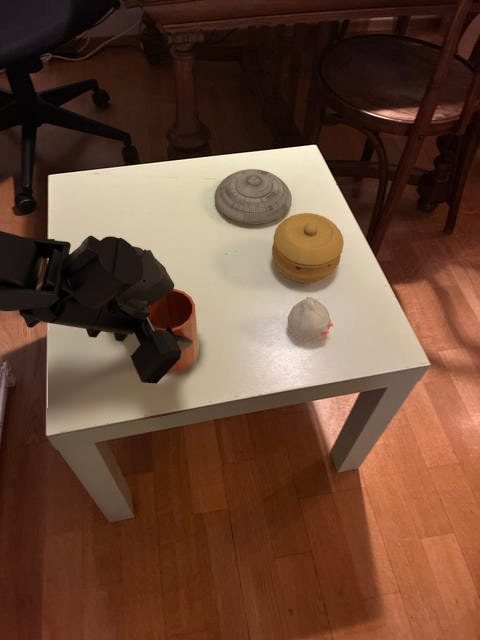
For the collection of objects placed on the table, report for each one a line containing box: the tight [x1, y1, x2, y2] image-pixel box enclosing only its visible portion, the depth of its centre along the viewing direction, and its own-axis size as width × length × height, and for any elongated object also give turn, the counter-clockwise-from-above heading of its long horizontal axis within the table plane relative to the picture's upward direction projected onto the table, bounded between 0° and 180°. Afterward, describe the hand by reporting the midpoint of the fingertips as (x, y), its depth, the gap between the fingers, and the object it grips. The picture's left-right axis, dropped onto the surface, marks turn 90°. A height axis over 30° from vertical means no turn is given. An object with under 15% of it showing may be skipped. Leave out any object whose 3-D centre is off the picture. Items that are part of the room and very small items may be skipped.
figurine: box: [287, 296, 334, 342], centre depth 74 cm, size 6×7×8 cm
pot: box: [271, 212, 345, 284], centre depth 82 cm, size 12×12×10 cm
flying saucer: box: [214, 168, 293, 225], centre depth 93 cm, size 15×15×6 cm
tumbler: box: [146, 288, 200, 373], centre depth 71 cm, size 7×7×11 cm
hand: (180, 324), depth 70 cm, fingers closed on tumbler, 7 cm apart
